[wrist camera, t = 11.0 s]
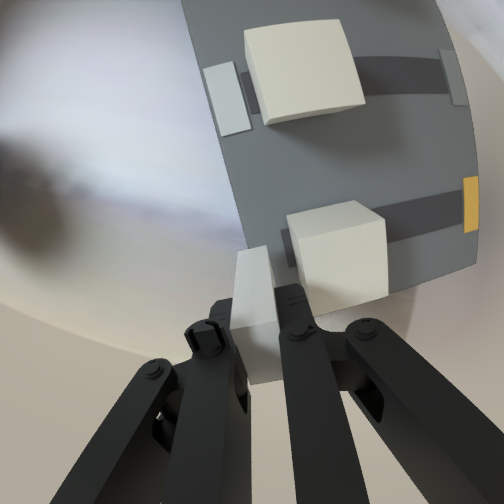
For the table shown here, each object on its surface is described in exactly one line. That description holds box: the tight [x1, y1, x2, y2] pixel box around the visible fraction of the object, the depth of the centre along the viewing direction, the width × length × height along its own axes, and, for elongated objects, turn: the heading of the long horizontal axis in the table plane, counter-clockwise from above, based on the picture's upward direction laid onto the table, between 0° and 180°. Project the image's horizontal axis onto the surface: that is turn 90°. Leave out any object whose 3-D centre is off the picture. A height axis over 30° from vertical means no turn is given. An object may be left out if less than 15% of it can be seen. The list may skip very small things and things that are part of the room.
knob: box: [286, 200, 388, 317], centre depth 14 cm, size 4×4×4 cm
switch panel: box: [181, 0, 479, 294], centre depth 13 cm, size 17×28×3 cm, turn 14°
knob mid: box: [244, 19, 366, 126], centre depth 11 cm, size 4×4×4 cm
